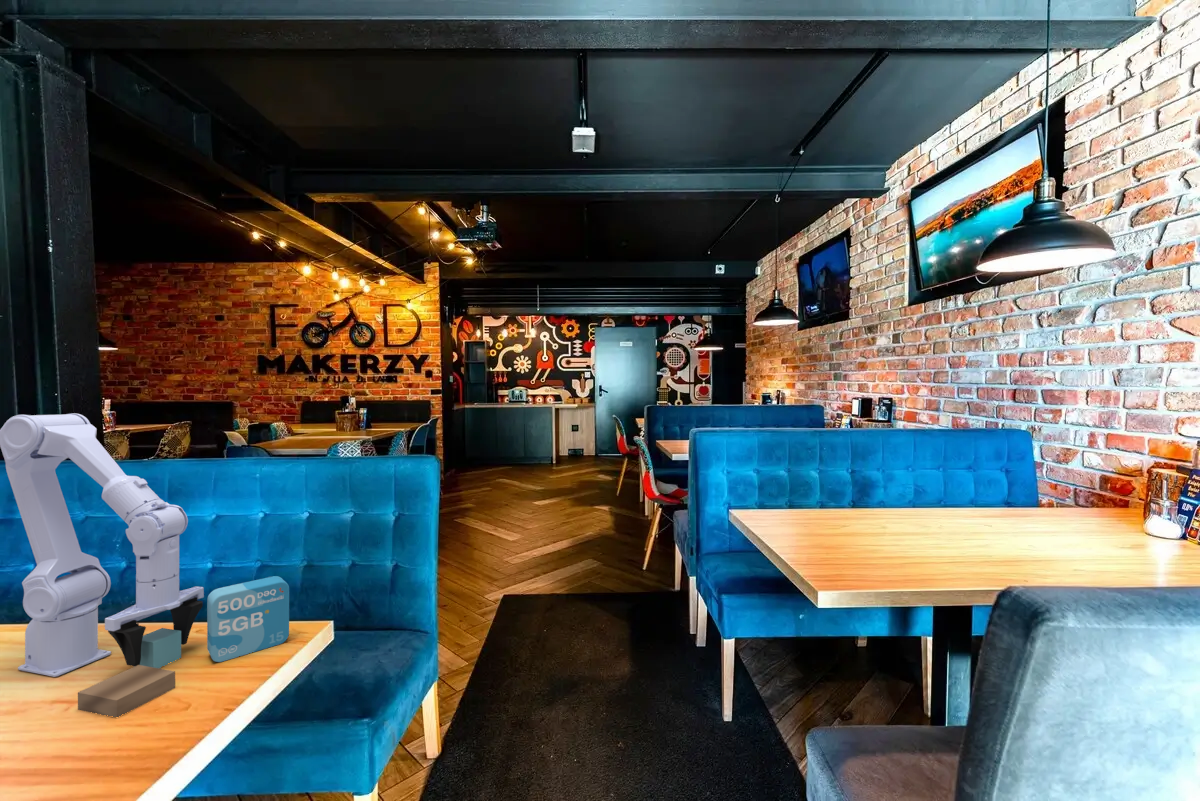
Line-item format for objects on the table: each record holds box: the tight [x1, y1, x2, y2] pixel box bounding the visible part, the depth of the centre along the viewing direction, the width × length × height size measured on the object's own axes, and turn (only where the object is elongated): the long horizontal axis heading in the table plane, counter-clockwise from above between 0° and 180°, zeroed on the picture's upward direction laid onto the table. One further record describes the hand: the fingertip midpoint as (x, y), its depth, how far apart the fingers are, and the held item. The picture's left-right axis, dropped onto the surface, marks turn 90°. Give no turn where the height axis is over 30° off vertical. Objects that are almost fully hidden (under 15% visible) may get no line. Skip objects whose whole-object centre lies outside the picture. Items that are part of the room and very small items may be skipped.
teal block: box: [133, 627, 182, 669], centre depth 89 cm, size 4×4×5 cm
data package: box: [206, 575, 290, 663], centre depth 94 cm, size 12×4×12 cm, turn 136°
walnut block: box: [77, 665, 176, 718], centre depth 78 cm, size 8×8×3 cm
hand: (157, 653), depth 89 cm, fingers open, 7 cm apart
